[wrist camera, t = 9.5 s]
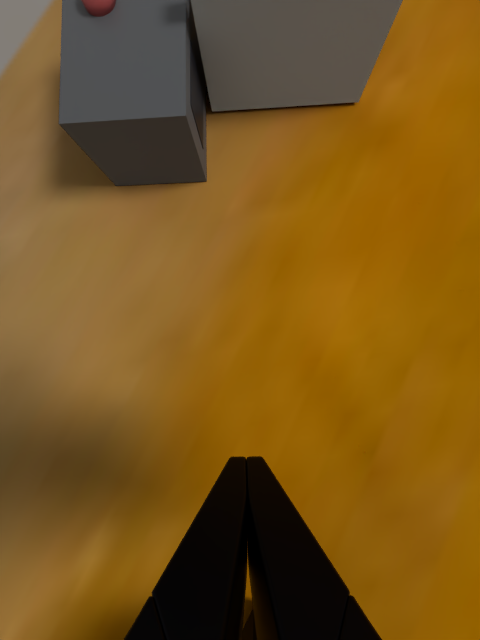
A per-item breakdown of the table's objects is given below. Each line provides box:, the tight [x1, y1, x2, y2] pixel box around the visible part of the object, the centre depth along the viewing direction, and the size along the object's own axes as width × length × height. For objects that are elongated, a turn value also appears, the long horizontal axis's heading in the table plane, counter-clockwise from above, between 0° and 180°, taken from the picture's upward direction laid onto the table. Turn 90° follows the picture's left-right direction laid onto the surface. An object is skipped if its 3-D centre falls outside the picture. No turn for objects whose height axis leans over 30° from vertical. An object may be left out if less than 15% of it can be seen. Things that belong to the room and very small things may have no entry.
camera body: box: [59, 0, 207, 186], centre depth 17 cm, size 12×7×7 cm, turn 1°
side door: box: [191, 0, 403, 112], centre depth 16 cm, size 6×11×8 cm, turn 91°
